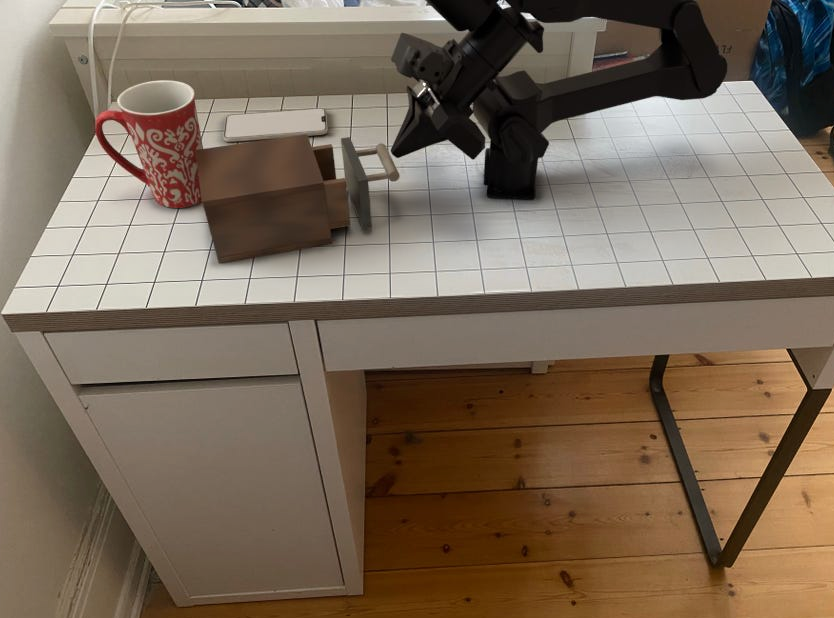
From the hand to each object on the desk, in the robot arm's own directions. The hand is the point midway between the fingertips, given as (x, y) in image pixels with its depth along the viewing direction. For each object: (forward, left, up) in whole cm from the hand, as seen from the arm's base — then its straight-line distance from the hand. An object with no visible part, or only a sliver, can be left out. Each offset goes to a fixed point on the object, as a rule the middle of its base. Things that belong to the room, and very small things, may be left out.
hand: (393, 154), depth 92 cm
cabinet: (+15, +6, -7) cm, 18 cm away
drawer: (+8, +3, -6) cm, 11 cm away
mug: (+30, 0, -7) cm, 31 cm away
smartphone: (+20, -19, -7) cm, 29 cm away
